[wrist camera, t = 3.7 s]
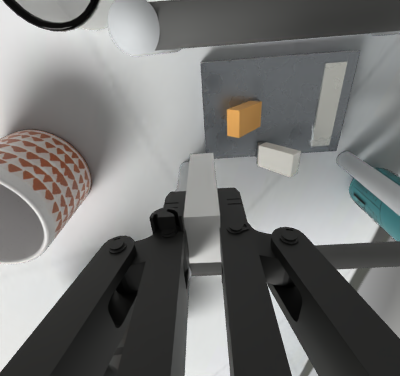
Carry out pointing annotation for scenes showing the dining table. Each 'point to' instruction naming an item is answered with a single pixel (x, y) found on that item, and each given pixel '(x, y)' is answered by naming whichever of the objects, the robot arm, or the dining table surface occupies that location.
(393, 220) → the beverage bottle
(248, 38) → the cord rack
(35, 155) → the planter
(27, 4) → the mug
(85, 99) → the dining table surface
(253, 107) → the amber brick
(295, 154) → the off-white eraser brick
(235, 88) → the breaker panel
